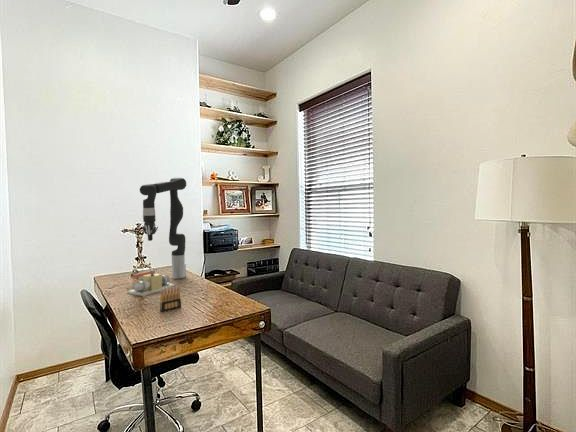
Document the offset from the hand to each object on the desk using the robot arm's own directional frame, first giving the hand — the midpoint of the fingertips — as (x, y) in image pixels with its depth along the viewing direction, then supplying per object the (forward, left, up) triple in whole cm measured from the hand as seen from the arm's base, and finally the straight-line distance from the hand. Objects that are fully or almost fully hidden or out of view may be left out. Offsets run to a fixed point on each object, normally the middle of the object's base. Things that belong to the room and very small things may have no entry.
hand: (150, 240), depth 214 cm
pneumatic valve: (-1, -9, -31) cm, 33 cm away
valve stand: (+5, +8, -31) cm, 32 cm away
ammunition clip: (+28, +50, -31) cm, 65 cm away
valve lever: (+11, +8, -20) cm, 25 cm away
